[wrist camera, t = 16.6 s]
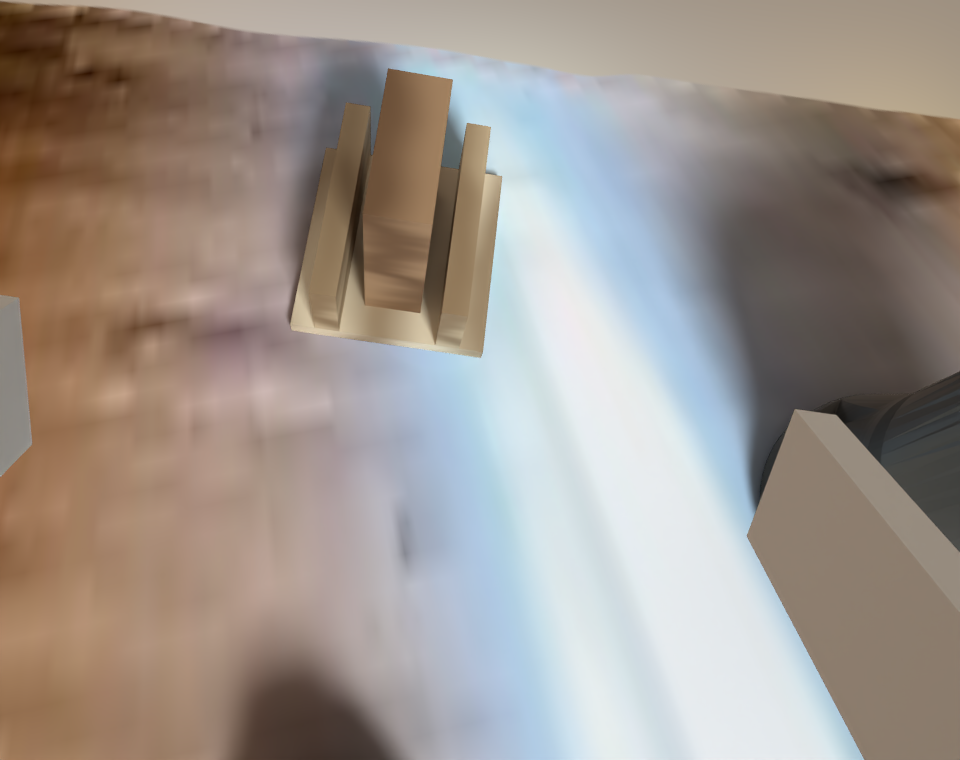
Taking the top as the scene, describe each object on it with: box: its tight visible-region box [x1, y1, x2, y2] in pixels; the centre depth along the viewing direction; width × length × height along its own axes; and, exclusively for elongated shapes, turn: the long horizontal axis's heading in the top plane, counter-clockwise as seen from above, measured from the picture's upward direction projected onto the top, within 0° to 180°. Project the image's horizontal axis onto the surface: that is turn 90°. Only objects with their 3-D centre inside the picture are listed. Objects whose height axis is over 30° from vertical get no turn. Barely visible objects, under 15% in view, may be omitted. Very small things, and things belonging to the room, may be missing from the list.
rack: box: [290, 103, 502, 358], centre depth 49 cm, size 12×13×6 cm
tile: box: [363, 69, 453, 313], centre depth 46 cm, size 4×9×11 cm, turn 174°
